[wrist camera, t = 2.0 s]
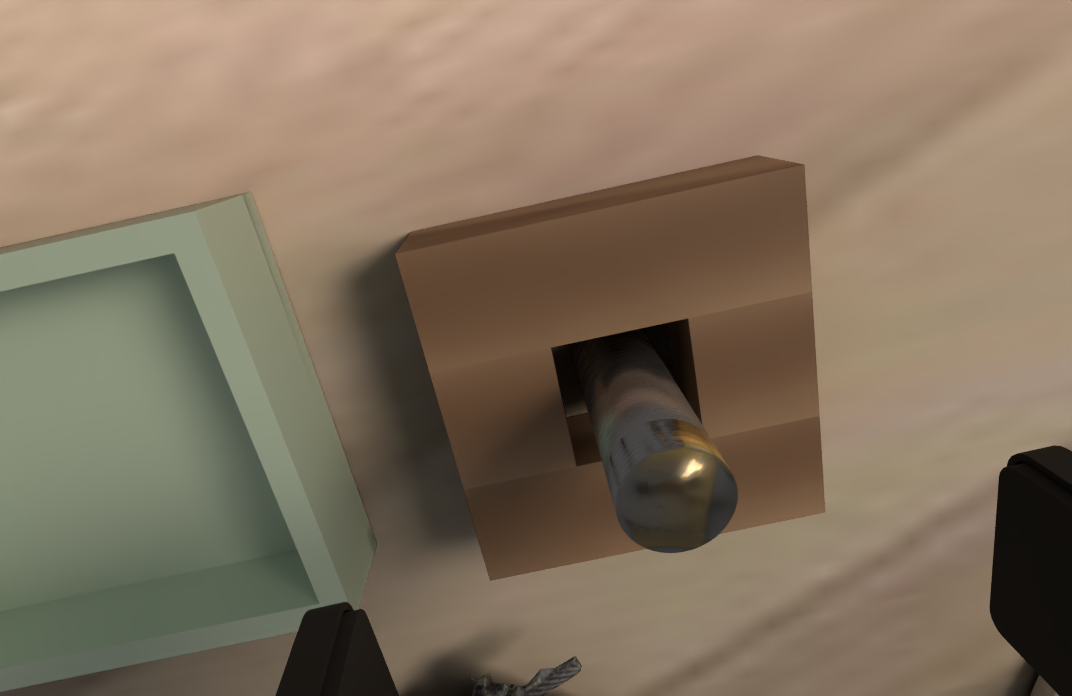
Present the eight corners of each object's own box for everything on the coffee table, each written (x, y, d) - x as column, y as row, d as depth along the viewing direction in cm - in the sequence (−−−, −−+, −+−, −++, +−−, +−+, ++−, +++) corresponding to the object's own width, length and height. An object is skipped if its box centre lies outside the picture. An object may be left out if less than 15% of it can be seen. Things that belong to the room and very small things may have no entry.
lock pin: (655, 381, 21) (743, 539, 13) (581, 396, 21) (626, 563, 13) (644, 310, 20) (731, 435, 12) (567, 326, 20) (606, 461, 12)
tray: (377, 543, 22) (355, 619, 19) (-16, 624, 23) (-104, 712, 19) (250, 192, 18) (193, 211, 15) (-230, 299, 18) (-388, 341, 15)
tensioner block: (783, 459, 22) (825, 512, 19) (491, 520, 22) (490, 580, 19) (757, 155, 18) (804, 164, 15) (411, 231, 19) (394, 254, 16)
